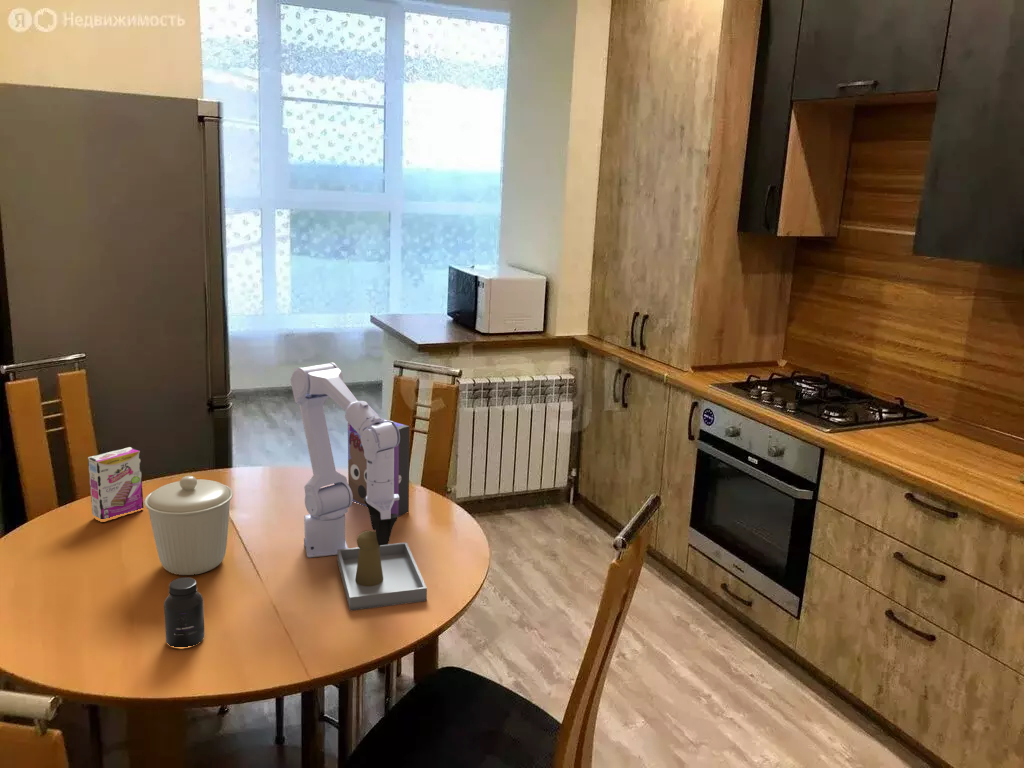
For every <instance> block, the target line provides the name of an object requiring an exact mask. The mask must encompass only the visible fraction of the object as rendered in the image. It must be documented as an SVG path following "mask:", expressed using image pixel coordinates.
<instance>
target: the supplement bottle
mask: <svg viewBox="0 0 1024 768" xmlns="http://www.w3.org/2000/svg"><path fill="white" fill-rule="evenodd" d="M197 583H198V582H197V580H196V579H195V578H192V577H188V576H187V577H186V576H185V577H178V578H176V579H173V580H172V581H170V582H169V584H168V596H166V598H165V599H164V602H163V609H164V610H163V611H164V614H163V615H164V629H165V641H166V644H167V643H168V644H169V645H170V646H174V647H188V646H193V645H196V644H198V643H199V642H201V641H202V642H203V640H204V639H205V634H206V633H205V615H204V614H205V612H204V611H205V610H204V609H205V608H204V597H203V595H202V593H200V592H199V591H198V584H197ZM203 638H204V639H203ZM202 642H201V643H202ZM168 644H167V645H168ZM199 644H200V643H199ZM199 644H198V645H199ZM169 645H168V646H169ZM170 646H169V647H170ZM196 646H197V645H196Z"/></svg>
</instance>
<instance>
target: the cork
mask: <svg viewBox="0 0 1024 768" xmlns="http://www.w3.org/2000/svg"><path fill="white" fill-rule="evenodd" d="M356 544H357V547H359V548H360V550H359V557H358V564H357V572H356V579H355V581H356V583H357V584H359V585H361V586H375V585H378V584H380V583H381V582H382V581H383V573H382V566H381V559H380V552H379V547H380V545H378V542H377V537H376V531H375V530H365V531H364V530H363V531H362V532H360V533H359V534H358V535H357V539H356Z"/></svg>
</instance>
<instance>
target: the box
mask: <svg viewBox="0 0 1024 768" xmlns="http://www.w3.org/2000/svg"><path fill="white" fill-rule="evenodd" d="M359 550H360V548H359V547H358V546H356V547H351V548H349V547H348V548H347V549H338V550H337V555H336V557H337V565H338V569H339V573H340V578H341V580H342V581H341V582H342V585H343V588H344V593H345V597H346V600H347V605H348V609H349V611H350V612H351V611H359V610H366V609H367V610H368V609H375V608H382V607H390V606H397V605H403V604H404V605H405V603H407V604H413V603H420V602H421V601H422V602H427V597H428V596H427V595H428V587H427V585H426V583H425V581H424V578H423V576H422V574H421V571H420V569H419V567H418V565H417V561H416V560H415V558H414V555H413V553H412V551H411V549H410V547H409V544H408V542H397V543H396V542H395V543H388V545H380V547H379V552H380V559H381V566H382V573H383V581H382V582H381V583H380V584H378V585H375V586H361V585H359V584H357V583H356V581H355V579H356V572H357V564H358V557H359Z"/></svg>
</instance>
